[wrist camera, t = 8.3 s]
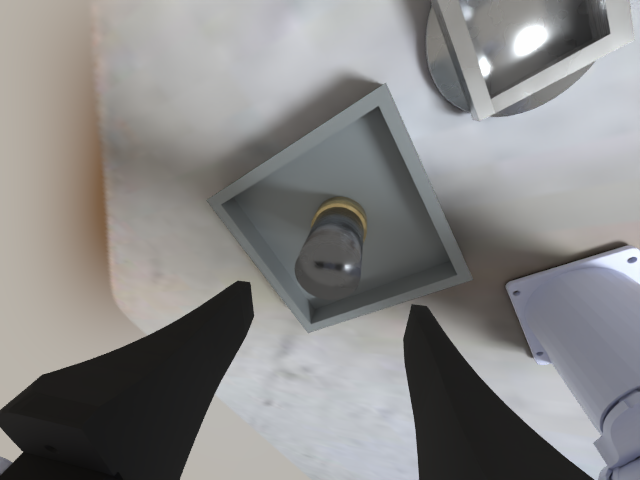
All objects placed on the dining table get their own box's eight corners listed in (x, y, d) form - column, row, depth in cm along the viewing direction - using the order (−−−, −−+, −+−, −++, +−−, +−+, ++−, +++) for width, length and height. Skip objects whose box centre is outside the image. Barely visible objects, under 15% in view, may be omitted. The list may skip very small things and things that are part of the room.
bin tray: (462, 260, 21) (473, 279, 19) (313, 313, 26) (307, 333, 24) (384, 84, 17) (385, 82, 14) (223, 190, 22) (206, 200, 20)
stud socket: (635, 54, 14) (668, 48, 12) (457, 144, 17) (466, 149, 16) (604, -167, 11) (642, -209, 10) (398, -7, 15) (401, -20, 13)
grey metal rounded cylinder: (374, 205, 20) (375, 253, 13) (358, 250, 22) (352, 311, 15) (321, 190, 20) (298, 231, 14) (310, 236, 22) (285, 290, 16)
